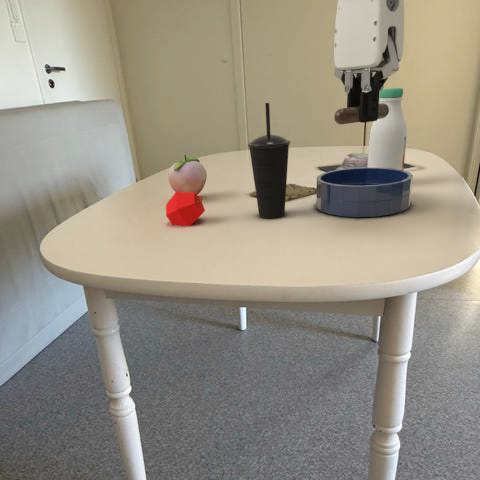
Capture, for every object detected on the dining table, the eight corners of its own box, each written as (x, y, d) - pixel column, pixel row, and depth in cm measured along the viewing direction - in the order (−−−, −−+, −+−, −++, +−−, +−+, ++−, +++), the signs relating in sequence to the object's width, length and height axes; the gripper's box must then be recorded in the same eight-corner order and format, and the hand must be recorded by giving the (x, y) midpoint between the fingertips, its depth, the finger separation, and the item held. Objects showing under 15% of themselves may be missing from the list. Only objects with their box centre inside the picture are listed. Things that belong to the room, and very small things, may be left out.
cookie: (287, 185, 109) (287, 181, 109) (323, 192, 100) (323, 188, 100) (248, 195, 103) (248, 191, 103) (282, 203, 94) (282, 198, 94)
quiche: (352, 180, 110) (353, 163, 108) (315, 168, 127) (316, 153, 125) (424, 169, 115) (426, 153, 113) (380, 160, 132) (381, 145, 130)
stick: (381, 117, 72) (382, 102, 71) (391, 118, 70) (392, 102, 69) (331, 124, 68) (331, 109, 67) (340, 125, 66) (340, 109, 65)
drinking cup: (256, 224, 82) (249, 105, 73) (249, 214, 89) (242, 104, 80) (296, 220, 83) (294, 101, 74) (286, 210, 90) (283, 100, 80)
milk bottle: (397, 191, 97) (407, 88, 87) (362, 190, 100) (367, 90, 91) (405, 184, 102) (415, 86, 93) (371, 182, 106) (377, 88, 96)
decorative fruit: (183, 194, 110) (177, 151, 105) (213, 195, 107) (209, 151, 102) (164, 204, 102) (157, 158, 97) (196, 205, 99) (190, 158, 94)
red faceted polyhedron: (152, 200, 82) (189, 183, 79) (168, 198, 89) (202, 182, 86) (167, 235, 84) (203, 220, 81) (181, 231, 90) (216, 217, 87)
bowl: (366, 192, 98) (367, 164, 95) (429, 208, 84) (433, 175, 81) (299, 207, 91) (298, 177, 89) (356, 226, 77) (357, 191, 75)
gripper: (437, -41, 55) (420, 120, 64) (351, -14, 68) (346, 117, 77) (392, -43, 53) (380, 126, 61) (311, -15, 65) (311, 122, 74)
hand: (361, 120), depth 69 cm, fingers closed on stick, 2 cm apart
